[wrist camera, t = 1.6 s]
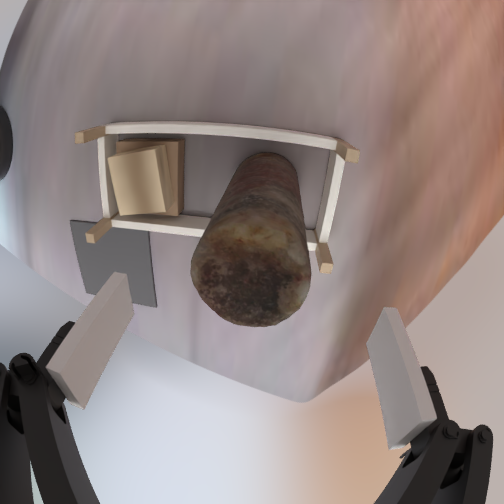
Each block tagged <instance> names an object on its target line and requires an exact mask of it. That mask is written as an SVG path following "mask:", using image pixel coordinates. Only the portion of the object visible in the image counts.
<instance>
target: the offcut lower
mask: <svg viewBox="0 0 504 504" xmlns="http://www.w3.org/2000/svg"><path fill="white" fill-rule="evenodd" d="M159 145H165V146H166V153H167V160H168V167H169V173H170V179H171V185H172V191H173V197H174V203H173V204H172V206H171V207H170V208H169V209H168V210H167V211H166V212H158V213H149V214H160V215H170V216H178V215H179V214H180V213H181V211H182V210H183V209H184V148H185V139H173V138H130V139H123V140H120V141H117V142H116V154H118V153H120V152H124V151H130V150H135V149H141V148H146V147H152V146H159Z"/></svg>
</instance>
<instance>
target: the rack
mask: <svg viewBox="0 0 504 504" xmlns="http://www.w3.org/2000/svg"><path fill="white" fill-rule="evenodd" d="M122 133H181V134H205V135H221V136H234V137H245V138H255V139H264V140H272V141H280V142H288V143H295V144H302V145H308V146H314V147H320V148H326V149H331V151H330V156H329V162H328V168H327V173H326V179H325V184H324V189H323V195H322V200H321V205H320V210H319V215H318V220H317V224H316V229H314V230H306V229H305V230H306V238H307V245H308V250H311V251H315V252H316V257H317V261H318V266H319V271H320V273H329V274H331V271H332V268H333V261H332V258H331V254H330V251H329V248H328V244H327V242H328V238H329V234H330V230H331V225H332V221H333V217H334V212H335V208H336V203H337V198H338V194H339V189H340V184H341V179H342V174H343V169H344V164H345V161H347V162H352V163H357V164H358V159H359V154H360V151H359V150H358V149H356V148H355V147H353V146H352V145H350V144H349V143H347V142H345V141H344V140H342V139H339V138H334V137H329V136H323V135H318V134H312V133H306V132H299V131H292V130H285V129H278V128H269V127H260V126H251V125H240V124H227V123H211V122H184V121H144V122H118V123H109V124H105V125H101V126H97V127H94V128H90V129H86V130H83V131H79V132H76V133H75V144H78V143H86V142H88V141H91V140H94V139H97V138H98V163H99V177H100V189H101V199H102V209H103V217H104V218H103V219H101V220H100V221H99V222H98V223H97V224H96V225H94V226H93V227H92V228H91V229H90V230H89V231H87V232H86V233H85V234H86V239H87V242H88V243H96V242H97V241H98V240H99V239H100V238H101V237H102V236H103V235H104V234H105V233H106V232H107V231H108V230H109V229H110V228H111V227H118V228H127V229H136V230H145V231H154V232H162V233H171V234H180V235H188V236H197V237H202V235H203V233H204V231H205V229H206V227H207V226H208V224H209V222H210V220H211V218H207V217H198V216H188V215H178V216H170V215H160V214H149V213H145V214H133V215H122V216H120V213H119V209H118V205H117V201H116V196H115V192H114V188H113V183H112V178H111V173H110V169H109V163H108V158H109V157H111V156H113V155H115V154H116V142H117V141H119V140H118V134H122Z"/></svg>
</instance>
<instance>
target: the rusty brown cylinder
mask: <svg viewBox="0 0 504 504" xmlns="http://www.w3.org/2000/svg"><path fill="white" fill-rule="evenodd" d="M191 277H192V281H193V284H194V286H195V288H196V289H197V291H198V293H199V295H200V297H201V298H202V300H203V301H204V302H205V303H206V304H207V305H208V306H209V307H210V308H211V309H212V310H213V311H215V312H216V313H217V314H218V315H219V316H220V317H222V318H223V319H225V320H227V321H229V322H231V323H233V324H236V325H242V326H250V327H267V326H272V325H277V324H278V323H280V322H281V321H283V320H285V319H287V318H289V317H290V316H291V315H292V314H293V313H295V312H296V311H297V310H299V309H300V307H301V305H302V304H303V302H304V301H305V299H306V297H307V294H308V292H309V288H310V281H311V266H310V258H309V251H308V245H307V238H306V230H305V224H304V216H303V211H302V204H301V196H300V189H299V183H298V177H297V173H296V170H295V169H294V167H293V166H292V165H291V163H290V162H289V161H288V160H286V159H285V158H284V157H283V156H280V155H277V154H275V153H259V154H256V155H253V156H251V157H249V158H247V159H246V160H245V161H243V162H242V163H241V164H240V165H239V167H238V169H237V170H236V172H235V174H234V176H233V178H232V179H231V181H230V183H229V185H228V187H227V189H226V191H225V193H224V195H223V197H222V199H221V201H220V202H219V204H218V206H217V208H216V210H215V212H214V214H213V216H212V218H211V220H210V222H209V224H208V226H207V227H206V229H205V231H204V233H203V235H202V237H201V239H200V241H199V243H198V245H197V247H196V249H195V252H194V254H193V257H192V260H191Z"/></svg>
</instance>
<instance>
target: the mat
mask: <svg viewBox="0 0 504 504" xmlns="http://www.w3.org/2000/svg"><path fill="white" fill-rule="evenodd" d="M96 224H97V223H95V222H85V221H75V220H71V221H70V225H71V230H72V235H73V240H74V245H75V250H76V254H77V258H78V263H79V267H80V271H81V275H82V278H83V282H84V286H85V289H86V293H89V294H93V295H96V294H97V293H98V292H99V290H100V289H101V288H102V287H103V285H104V284H105V283H106V281H107V280H108V279H109V278H110V276H111V275H112V274H113V273H114V272H118V273H124V274H127V279H128V284H129V290H130V295H131V300H132V303H135V304H140V305H145V306H150V307H157V302H156V294H155V287H154V278H153V269H152V260H151V249H150V238H149V231H145V230H136V229H127V228H118V227H111V228H110V229H109V230H108V231H107V232H106V233H105V234H104V235H103V236H102V237H101V238H100V239H99V240H98V241H97V242H96V243H88V242H87V239H86V234H85V233H86V232H87V231H89V230H90V229H91V228H92V227H93V226H94V225H96Z"/></svg>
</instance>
